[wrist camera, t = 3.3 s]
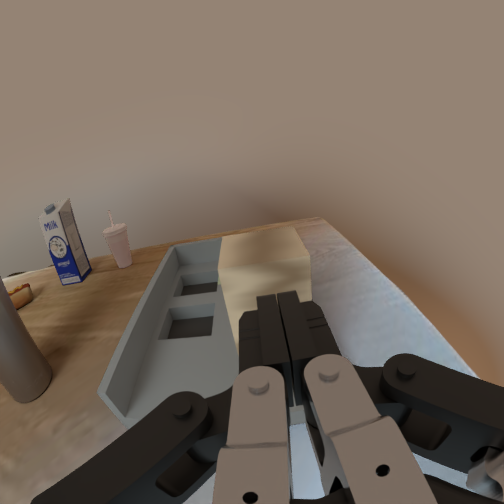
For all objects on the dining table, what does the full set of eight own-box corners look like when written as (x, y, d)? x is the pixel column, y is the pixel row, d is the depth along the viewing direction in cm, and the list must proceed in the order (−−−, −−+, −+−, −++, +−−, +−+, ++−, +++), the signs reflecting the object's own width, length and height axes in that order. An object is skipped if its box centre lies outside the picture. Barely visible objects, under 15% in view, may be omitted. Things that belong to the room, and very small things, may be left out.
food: (34, 295, 53) (27, 278, 51) (36, 301, 50) (28, 283, 47) (-3, 316, 44) (-11, 300, 42) (-3, 325, 40) (-13, 307, 38)
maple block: (247, 391, 23) (217, 269, 17) (246, 348, 28) (222, 236, 23) (312, 381, 23) (309, 255, 17) (300, 340, 28) (292, 226, 23)
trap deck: (127, 429, 21) (96, 392, 18) (179, 275, 52) (170, 245, 50) (348, 412, 21) (357, 371, 18) (290, 259, 52) (287, 227, 49)
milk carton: (92, 269, 62) (69, 196, 54) (82, 282, 56) (55, 203, 48) (72, 273, 62) (49, 204, 54) (62, 285, 55) (35, 211, 47)
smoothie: (134, 256, 66) (119, 205, 60) (139, 263, 61) (123, 207, 55) (112, 265, 62) (95, 213, 57) (116, 273, 58) (97, 216, 52)
